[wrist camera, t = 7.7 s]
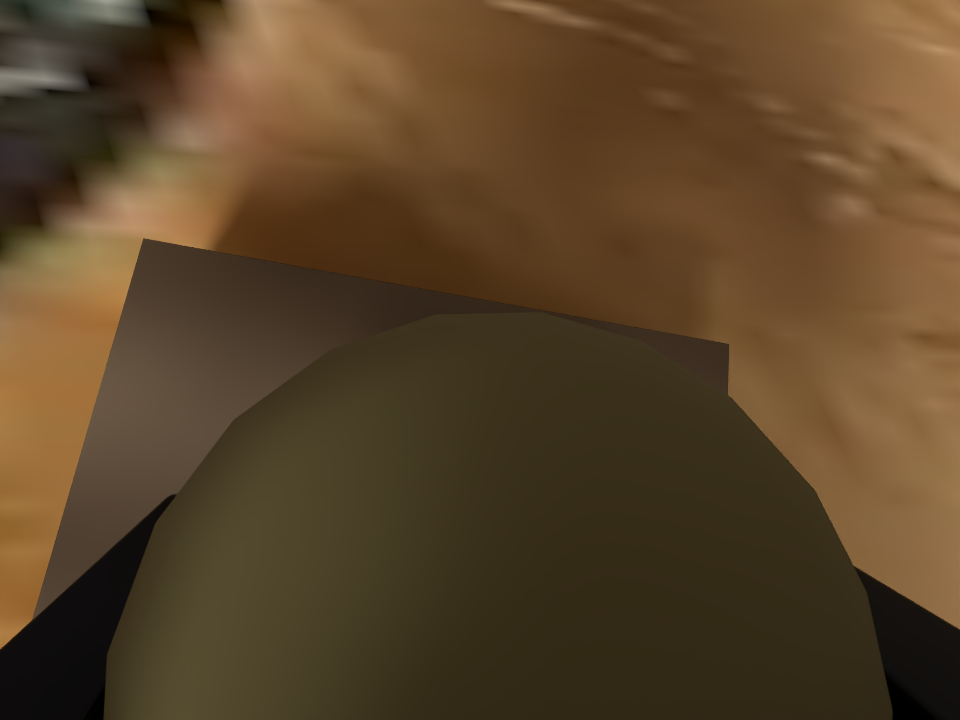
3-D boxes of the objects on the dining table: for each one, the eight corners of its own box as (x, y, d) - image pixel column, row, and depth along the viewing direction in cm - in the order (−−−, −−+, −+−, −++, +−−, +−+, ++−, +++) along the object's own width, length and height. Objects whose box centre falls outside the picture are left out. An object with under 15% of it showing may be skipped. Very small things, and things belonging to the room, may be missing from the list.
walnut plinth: (635, 938, 18) (711, 1035, 14) (25, 891, 16) (-75, 988, 12) (664, 384, 22) (728, 343, 18) (182, 301, 20) (143, 238, 17)
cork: (396, 398, 15) (489, 5, 5) (620, 595, 15) (1239, 621, 4) (172, 638, 13) (-463, 826, 3) (422, 873, 13) (703, 2050, 3)
